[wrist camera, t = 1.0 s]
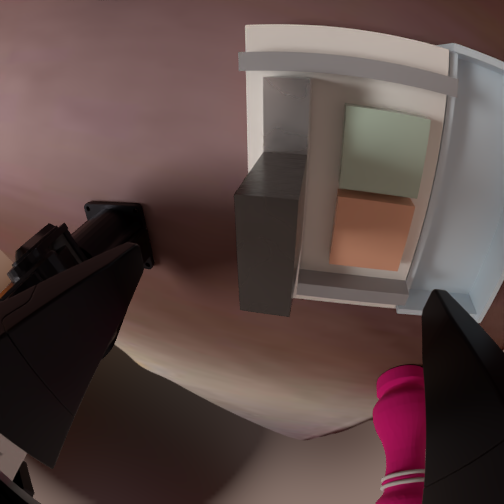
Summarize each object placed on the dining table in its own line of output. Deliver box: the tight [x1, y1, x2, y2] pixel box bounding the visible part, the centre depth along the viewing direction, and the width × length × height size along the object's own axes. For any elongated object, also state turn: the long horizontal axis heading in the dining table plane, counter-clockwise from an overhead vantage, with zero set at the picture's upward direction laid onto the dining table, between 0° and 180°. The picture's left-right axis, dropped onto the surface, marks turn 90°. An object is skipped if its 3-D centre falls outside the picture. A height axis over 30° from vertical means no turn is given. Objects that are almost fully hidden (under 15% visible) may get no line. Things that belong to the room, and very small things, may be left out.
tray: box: [396, 43, 504, 323], centre depth 16 cm, size 8×19×4 cm, turn 0°
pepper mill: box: [373, 365, 426, 504], centre depth 22 cm, size 7×7×20 cm
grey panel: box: [234, 76, 312, 317], centre depth 14 cm, size 2×12×8 cm, turn 1°
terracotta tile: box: [329, 188, 415, 271], centre depth 17 cm, size 4×4×1 cm
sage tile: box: [338, 103, 431, 199], centre depth 14 cm, size 4×4×1 cm
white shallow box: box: [238, 24, 459, 308], centre depth 17 cm, size 11×18×4 cm, turn 0°
